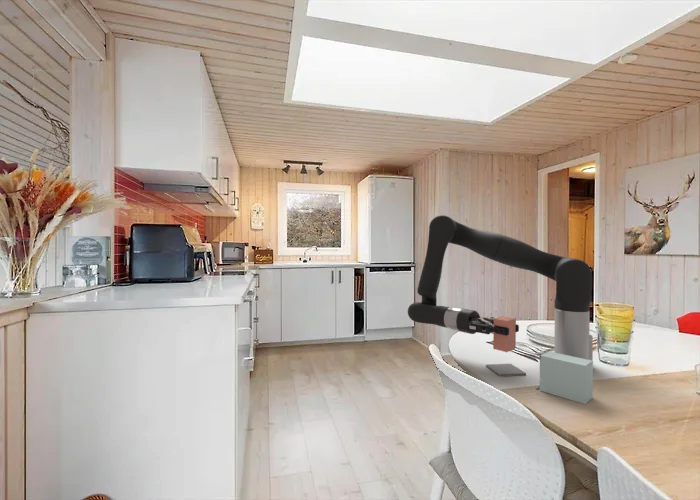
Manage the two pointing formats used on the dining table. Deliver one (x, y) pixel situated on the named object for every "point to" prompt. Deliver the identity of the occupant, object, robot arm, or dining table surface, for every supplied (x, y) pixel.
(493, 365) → the coaster
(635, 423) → the dining table surface
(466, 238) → the robot arm
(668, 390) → the dining table surface
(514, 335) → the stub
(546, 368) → the pale green block
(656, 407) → the dining table surface
